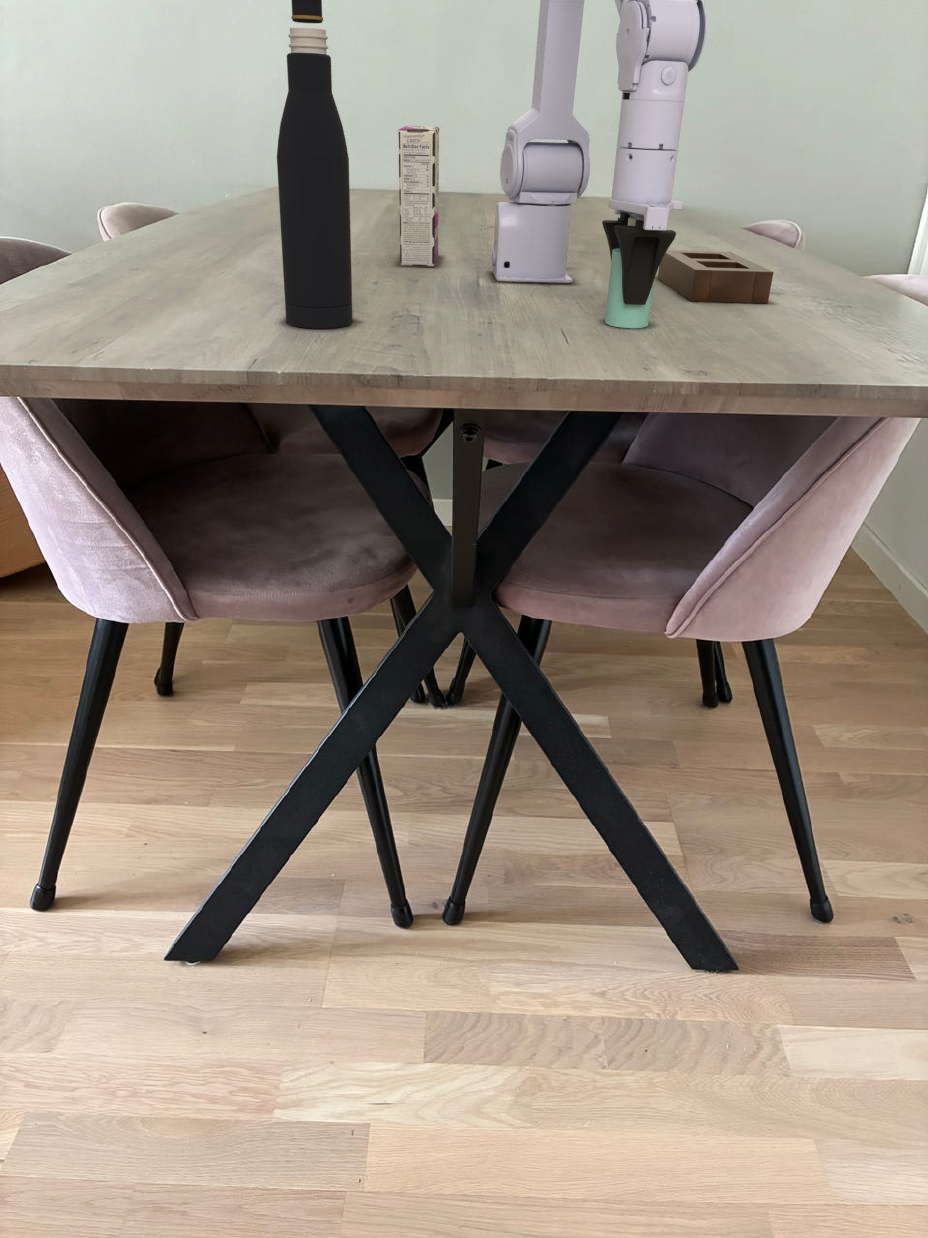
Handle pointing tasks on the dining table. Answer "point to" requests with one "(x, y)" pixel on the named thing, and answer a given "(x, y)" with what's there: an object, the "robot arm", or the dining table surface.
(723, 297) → the peg block
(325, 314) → the black bottle
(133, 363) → the dining table surface
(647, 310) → the small bottle
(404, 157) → the candy bar box
